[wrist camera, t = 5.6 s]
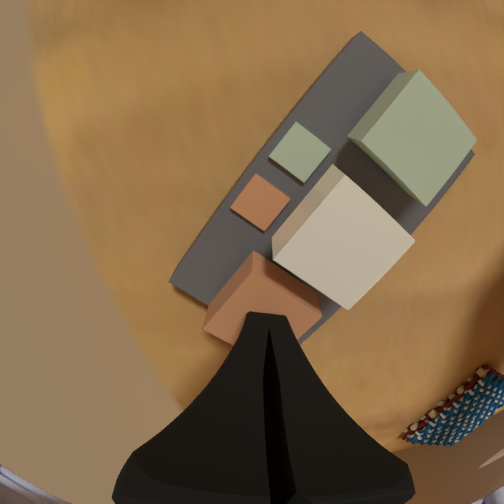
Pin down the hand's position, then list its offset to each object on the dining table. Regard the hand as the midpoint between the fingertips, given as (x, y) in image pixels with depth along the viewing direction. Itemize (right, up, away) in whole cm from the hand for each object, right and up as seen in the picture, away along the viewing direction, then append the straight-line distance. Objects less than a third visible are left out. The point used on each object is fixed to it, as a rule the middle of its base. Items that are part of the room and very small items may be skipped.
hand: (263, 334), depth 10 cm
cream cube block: (+3, +4, +1) cm, 5 cm away
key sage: (+5, +8, 0) cm, 9 cm away
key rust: (0, +2, +3) cm, 3 cm away
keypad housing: (+3, +5, +2) cm, 6 cm away
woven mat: (+20, -12, +10) cm, 25 cm away
